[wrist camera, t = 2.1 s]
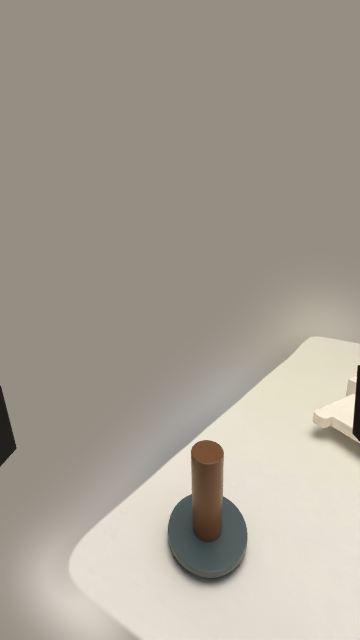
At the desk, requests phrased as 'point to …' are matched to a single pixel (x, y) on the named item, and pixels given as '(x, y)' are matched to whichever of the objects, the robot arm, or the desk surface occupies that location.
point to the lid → (207, 519)
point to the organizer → (339, 412)
